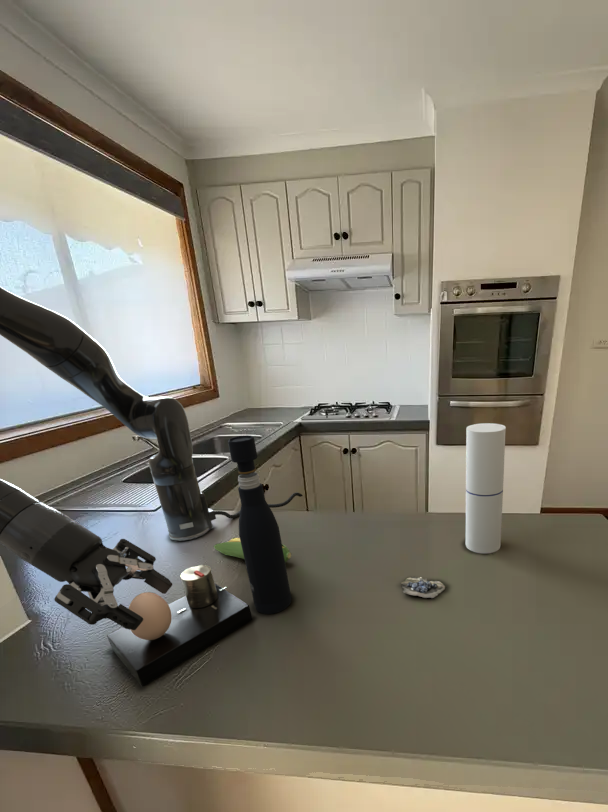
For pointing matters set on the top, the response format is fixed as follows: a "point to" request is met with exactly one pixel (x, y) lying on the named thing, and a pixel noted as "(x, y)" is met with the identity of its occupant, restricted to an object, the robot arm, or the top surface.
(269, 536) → the dark water bottle
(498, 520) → the cylindrical container
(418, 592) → the blueberries
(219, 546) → the edible corn
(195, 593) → the stove knob
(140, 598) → the egg
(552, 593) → the top surface
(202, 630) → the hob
